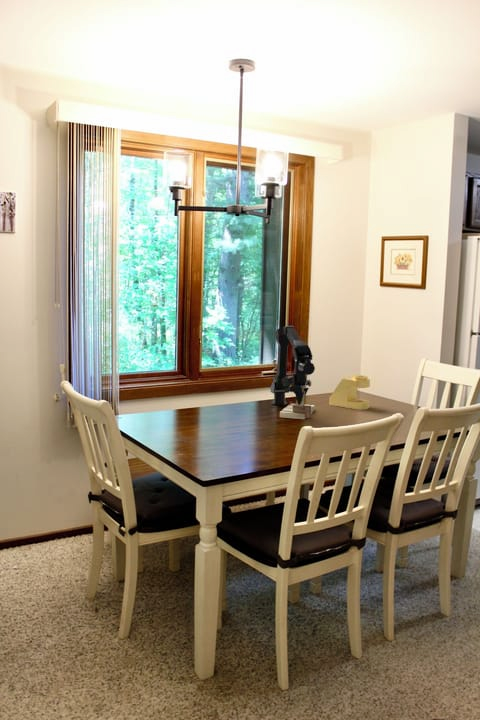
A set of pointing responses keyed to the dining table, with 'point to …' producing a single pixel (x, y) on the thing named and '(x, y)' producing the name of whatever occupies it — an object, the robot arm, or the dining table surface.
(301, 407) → the stacked cube assembly
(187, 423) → the dining table surface
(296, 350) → the robot arm
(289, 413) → the board
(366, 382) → the clamp
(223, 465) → the dining table surface
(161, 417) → the dining table surface
